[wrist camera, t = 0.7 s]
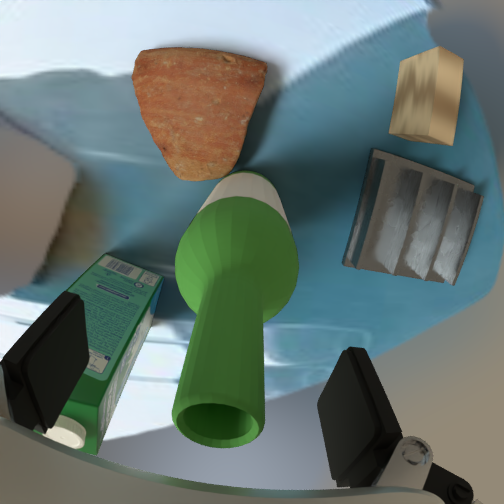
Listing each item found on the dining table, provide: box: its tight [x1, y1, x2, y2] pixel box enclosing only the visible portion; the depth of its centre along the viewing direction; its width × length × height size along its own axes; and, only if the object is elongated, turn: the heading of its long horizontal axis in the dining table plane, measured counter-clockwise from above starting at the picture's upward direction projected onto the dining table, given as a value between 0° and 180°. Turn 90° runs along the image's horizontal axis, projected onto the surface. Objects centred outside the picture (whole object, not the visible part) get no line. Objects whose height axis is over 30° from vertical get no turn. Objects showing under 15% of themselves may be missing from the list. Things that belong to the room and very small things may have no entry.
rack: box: [342, 148, 484, 286], centre depth 35 cm, size 15×17×4 cm
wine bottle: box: [172, 170, 299, 448], centre depth 22 cm, size 8×8×30 cm
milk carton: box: [33, 253, 164, 455], centre depth 29 cm, size 9×9×25 cm
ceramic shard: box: [132, 47, 267, 181], centre depth 31 cm, size 15×6×15 cm
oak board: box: [389, 46, 463, 146], centre depth 27 cm, size 10×3×10 cm, turn 170°
